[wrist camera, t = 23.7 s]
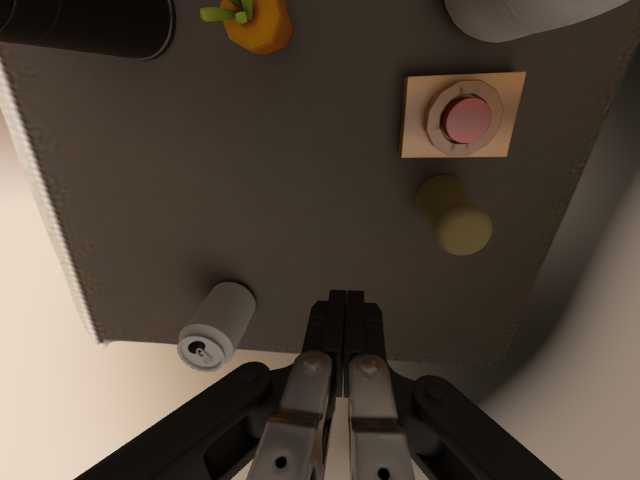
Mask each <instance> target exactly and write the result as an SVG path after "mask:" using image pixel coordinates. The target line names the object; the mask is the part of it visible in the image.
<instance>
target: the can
mask: <svg viewBox="0 0 640 480" xmlns="http://www.w3.org/2000/svg"><path fill="white" fill-rule="evenodd" d="M255 308H256V302H255V299H254V297H253V295H252V294H251V293H250V291H249V290H248V289H246V288H245V287H244V286H242V285H239V284H237V283H233V282H223V283H220V284H218V285H216V286H215V287H214V288H213V289H212V290H211V291H210V293H209V294H208V295H207V297H206V298H205V300H204V301H203V302H202V304H201V305H200V306H199V308H198V309H197V310H196V312H195V313H194V314H193V316H192V317H191V318H190V320H189V321H188V323H187V324H186V325H185V327H184V328H183V329H182V331H181V332H180V335H179V344H178V348H177V349H178V354H179V356H180V358H181V359H182V360H183V361H184V362H185V363H186V364H187V365H189V366H190V367H191V368H193V369H196V370H198V371H203V372H213V371H216V370H219V369H220V368H221V367H222V366H223V365H224V364H227V363H228V362H229V361H230V360H231V359H232V357H233V355H234V353H235V351H236V349H237V346H238V344H239V342H240V340H241V338H242V336H243V334H244V332H245V330H246V328H247V326H248V323H249V321H250V319H251V317H252V315H253V313H254V311H255Z"/></svg>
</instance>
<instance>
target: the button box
mask: <svg viewBox="0 0 640 480" xmlns="http://www.w3.org/2000/svg"><path fill="white" fill-rule="evenodd" d="M525 76H526V72H502V73H478V74H455V75H432V76H408V77H405V78H404V90H403V103H402V115H401V128H400V141H399V155H400V156H401V158H451V157H507V153H508V149H509V145H510V140H511V136H512V132H513V127H514V123H515V119H516V114H517V110H518V106H519V101H520V97H521V93H522V88H523V84H524V80H525ZM464 97H472V98H479V99H481V100H483V101H485V102H486V103H487V104H488V106H489V108H490V110H491V122H490V125H489V127H488V129H487V131H486V132H485V133H484V134H483V135H482V136H481V137H480V138H479V139H477V140H475V141H473V142H470V143H459V142H456V141H454V140H453V139H451V138H449V137H448V136H447V135H446V134H445V133H444V131H443V128H442V118H443V115H444V112H445V111H446V109H447V108H448V106H449V105H450V104H451V103H453V102H454V101H456V100H458V99H460V98H464Z"/></svg>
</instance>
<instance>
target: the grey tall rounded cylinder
mask: <svg viewBox="0 0 640 480" xmlns="http://www.w3.org/2000/svg"><path fill="white" fill-rule="evenodd" d="M444 1H445V6H446V9H447V11H448V13H449V15H450V17H451V18H452V20H453V22H454V24H455V25H456V26H458V27H459V28H460V29H461V30H462V31H463V32H464V33H465V34H467V35H469V36H471V37H473V38H476V39H478V40H482V41H486V42H504V41H510V40H514V39H517V38H521V37H524V36H527V35H530V34H534V33H539V32H543V31H548V30H552V29H556V28H560V27H563V26H567V25H571V24H574V23H577V22H580V21H583V20H586V19H589V18H592V17H595V16H597V15H600V14H602V13H605V12H607V11H609V10H611V9H614V8H616V7H618V6H620V5H622V4H624V3H626V2H628V1H630V0H444Z"/></svg>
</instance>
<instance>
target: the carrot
mask: <svg viewBox="0 0 640 480" xmlns="http://www.w3.org/2000/svg"><path fill="white" fill-rule="evenodd" d="M200 16H201V18H202V19H203V20H205V21H206V22H212V21H218V20H223V23H224V26H225V28H226V31H227V34H228V36H229V39H231V40H232V41H234V42H236V43H237V44H239V45H241V46H242V47H244V48H246V49H248V50H249V51H251V52H253V53H257V54H264V55H266V54H269V53H272V52H274V51H277V50H279V49H282V48H284V47H286V46H287V44H288V41H289V39H290V36H291V33H292V25H291V22H290V18H289V15H288V11H287V8H286V4H285V2H284V0H222V1H221V5H220V8H217V7H205V8H201V9H200Z"/></svg>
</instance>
